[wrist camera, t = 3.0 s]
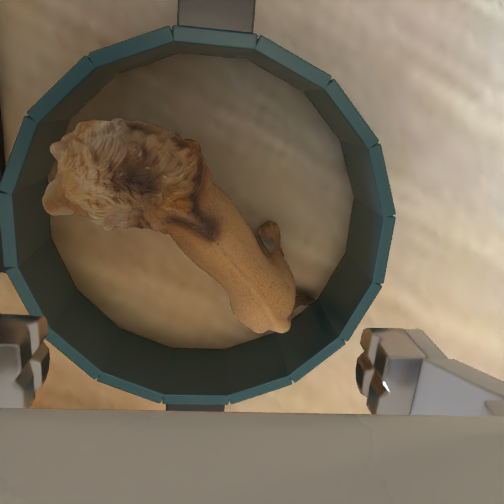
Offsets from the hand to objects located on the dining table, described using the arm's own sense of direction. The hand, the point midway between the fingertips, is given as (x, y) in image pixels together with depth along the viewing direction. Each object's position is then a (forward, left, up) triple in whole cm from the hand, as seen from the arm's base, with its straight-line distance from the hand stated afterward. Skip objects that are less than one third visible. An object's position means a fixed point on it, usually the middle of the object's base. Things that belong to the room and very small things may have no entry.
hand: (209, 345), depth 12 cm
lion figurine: (0, 0, -14) cm, 14 cm away
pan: (0, 0, -14) cm, 14 cm away
